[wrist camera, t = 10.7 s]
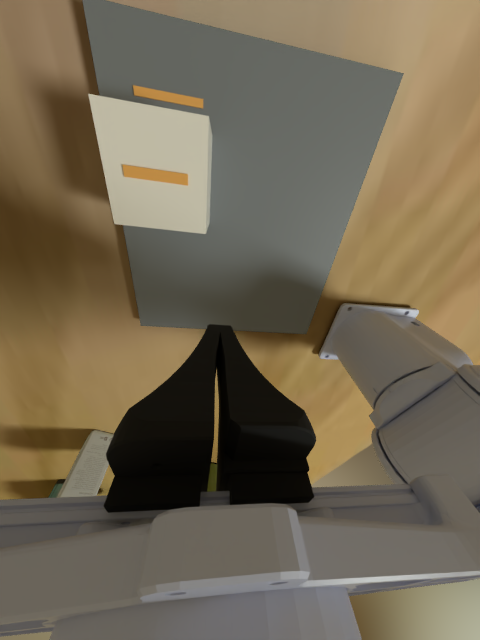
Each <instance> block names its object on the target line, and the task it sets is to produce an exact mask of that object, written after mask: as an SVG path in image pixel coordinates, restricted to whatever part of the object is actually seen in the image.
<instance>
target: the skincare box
mask: <svg viewBox="0 0 480 640" xmlns="http://www.w3.org/2000/svg"><path fill="white" fill-rule="evenodd" d="M113 435H114V434H111V433H107V432H103V431H98V430H94V431H92V432H91V433H90V435H89V436H88V437H87V439H86V441H85V443H84V444H83V446H82V448H81V450H80V452H79V454H78V456H77V458H76V460H75V462H74V464H73V466H72V468H71V470H70V472H69V474H68V476H67V478H66V480H65V482H64V484H63V486H62V488H61V490H60V492H59V494H58V496H57V498H60V497H85V496H96V495H97V493H98V490H99V488H100V485H101V483H102V480H103V478H104V475H105V472H106V470H107V467H108V465H109V463H108V461H107V458H106V452H107V450H108V447H109V445H110V443H111V440H112V438H113Z"/></svg>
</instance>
